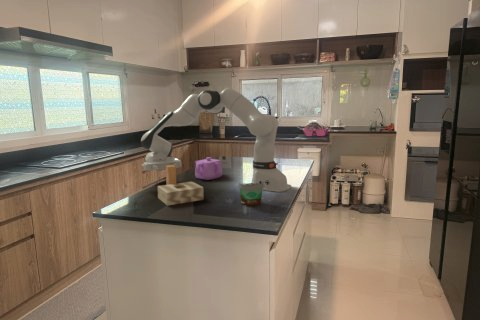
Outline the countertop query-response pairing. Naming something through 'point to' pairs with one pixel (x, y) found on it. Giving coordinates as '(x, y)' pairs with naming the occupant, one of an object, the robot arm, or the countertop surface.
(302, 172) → the countertop surface
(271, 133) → the robot arm
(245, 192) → the food container
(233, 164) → the countertop surface
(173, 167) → the plug
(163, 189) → the socket
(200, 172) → the teakettle
